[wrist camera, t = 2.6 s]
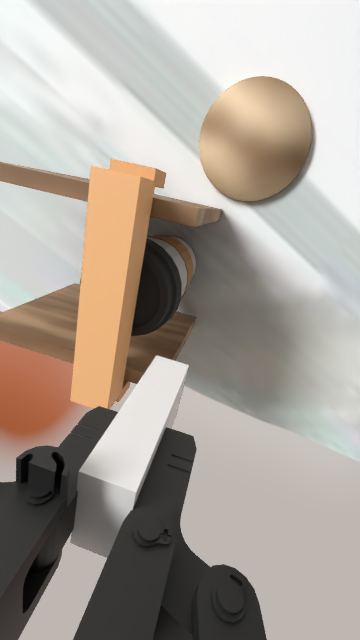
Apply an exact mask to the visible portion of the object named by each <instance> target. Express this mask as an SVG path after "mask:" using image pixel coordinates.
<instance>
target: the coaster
mask: <svg viewBox="0 0 360 640" xmlns="http://www.w3.org/2000/svg"><path fill="white" fill-rule="evenodd" d="M311 138H312V125H311V118H310V114H309V111H308V108H307V106H306V103H305V102H304V100H303V98H302V97H301V96H300V94H299V93H298V92H297V91H296V90H295V89H294V88H293V87H292V86H290V85H289V84H287V83H286V82H284V81H282V80H279V79H277V78H272V77H265V76H260V77H252V78H248V79H245V80H242V81H240V82H238V83H236V84H234V85H232V86H231V87H229V88H228V89H227V90H225V91H224V92H223V93H222V94H221V95H220V96H219V97H218V98H217V100H216V101H215V102H214V103H213V105H212V106H211V108H210V109H209V111H208V113H207V115H206V117H205V120H204V122H203V125H202V129H201V133H200V140H199V152H200V159H201V163H202V166H203V169H204V172H205V174H206V176H207V177H208V179H209V180H210V182H211V183H212V184H213V185H214V187H215V188H216V189H218V190H219V191H220V192H221V193H223V194H224V195H226V196H228V197H230V198H233V199H236V200H241V201H257V200H262V199H266V198H268V197H270V196H273V195H274V194H276V193H278V192H280V191H281V190H282V189H284V188H285V187H286V186H287V185H288V184H289V183H290V182H292V180H293V179H294V178H295V177H296V176H297V174H298V173H299V171H300V170H301V168H302V166H303V164H304V163H305V161H306V158H307V155H308V153H309V149H310V145H311Z"/></svg>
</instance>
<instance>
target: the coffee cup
mask: <svg viewBox="0 0 360 640" xmlns="http://www.w3.org/2000/svg"><path fill="white" fill-rule="evenodd" d="M195 270H196V259H195V254H194V252H193V250H192V248H191V247H190V246H189V245H188V244H187V243H186V242H185V241H183V240H182V239H180V238H177V237H174V236H147V239H146V245H145V251H144V257H143V263H142V269H141V276H140V282H139V288H138V294H137V300H136V307H135V313H134V319H133V325H132V331H131V336H139V335H146V334H149V333H151V332H153V331H156V330H158V329H159V328H160V327H161V326H163V325H164V324H165V323H167V322H168V321H169V320H170V319H171V318H172V317H173V315H174V313H175V312H176V310H177V309H178V306H179V303H180V300H181V298H182V297H183V295H184V294H185V292H186V290H187V288H188V286H189V284H190V283H191V280H192V278H193V276H194V273H195ZM80 285H81V280H80Z"/></svg>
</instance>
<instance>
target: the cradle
mask: <svg viewBox="0 0 360 640" xmlns="http://www.w3.org/2000/svg"><path fill="white" fill-rule="evenodd" d="M0 181H3V182H7V183H11V184H15V185H19V186H24V187H28V188H32V189H36V190H41V191H45V192H49V193H53V194H57V195H62V196H66V197H70V198H74V199H78V200H83V201H87V202H88V193H89V182H90V180H89V179H85V178H80V177H75V176H70V175H65V174H60V173H55V172H49V171H44V170H39V169H34V168H29V167H24V166H19V165H14V164H8V163H3V162H0ZM221 212H222V209H217V208H213V207H209V206H204V205H200V204H195V203H191V202H187V201H182V200H178V199H173V198H169V197H164V196H160V195H156V194H154V195H153V201H152V208H151V214H150V217H154V218H158V219H163V220H167V221H171V222H175V223H179V224H184V225H188V226H192V227H197V226H201V225H205V224H208V223H212V222H216V221H219V220H220V216H221ZM79 297H80V285H78V284H72V285H70V286H67V287H65V288H62V289H60V290H57V291H55V292H52V293H50V294H47V295H45V296H43V297H40V298H38V299H35V300H33V301H30V302H28V303H25V304H23V305H20V306H18V307H15V308H13V309H10V310H8V311H5V312H3V313H0V340H1V341H4V342H7V343H10V344H13V345H17V346H20V347H23V348H26V349H29V350H32V351H35V352H38V353H41V354H45V355H48V356H51V357H54V358H57V359H60V360H63V361H67V362H70V363H73V364H74V355H75V343H76V332H77V320H78V309H79ZM195 318H196V317H193V316H189V315H186V314H182V313H179V312H175V313H174V315H173V317H172V318H171V319H170V320H169V321H168V322H167V323H165V324H164V325H163V326H161V327H160V328H159V329H158V330H156V331H153V332H151V333H149V334H146V335H139V336H131V338H130V344H129V350H128V356H127V362H126V369H125V375H124V380H126V381H129V382H132V383H136V384H138V382H139V381H140V379H141V378H142V376H143V375H144V373H145V372H146V370H147V369H148V367H149V366H150V364H151V363H152V361H153V360H154V358H155V357H156V355H157V356H160V357H164V358H167V359H170V360H174V361H175V360H176V358H177V356H178V354H179V352H180V351H181V349H182V347H183V345H184V343H185V341H186V339H187V337H188V336H189V334H190V332H191V330H192V328H193V326H194V322H195Z"/></svg>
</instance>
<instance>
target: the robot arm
mask: <svg viewBox="0 0 360 640" xmlns="http://www.w3.org/2000/svg"><path fill="white" fill-rule="evenodd" d="M188 367H189V365H187V364H184V363H180V362H177V361H174V360H170V359H167V358H164V357H160V356H157V355H156V357H155V358H154V360H153V361H152V363H151V364H150V366H149V367H148V369H147V370H146V372H145V373H144V375H143V376H142V378H141V379H140V381H139V382H138V384H137V385H136V387H135V388H134V390H133V391H132V393H131V394H130V396H129V397H128V399H127V400H126V402H125V403H124V405H123V406H122V407H121V409H120V410H119V412H116V411H113V410H110V409H107V408H104V407H101V406H98V407H96V408H95V409H93V410H91V411H89V412H87V413H86V414H85V416H84V417H83V418H82V419H81V420H80V421H79V423H78V425H76V426H75V428H74V429H73V430H72V431H71V433H70V434H69V435H68V436H67V437H66V438H65V440H64V441H63V442H62V443H61V444H60V446H59V447H53V446H39V447H35V448H32V449H29V450H27V451H25V452H24V453H22V454H21V455H20V456H19V457H17V459H16V481H15V482H4V483H3V482H0V640H18V639H19V637H20V635H21V633H22V631H23V629H24V628H25V626H26V624H27V622H28V620H29V618H30V617H31V615H32V613H33V611H34V609H35V607H36V606H37V604H38V602H39V600H40V598H41V596H42V595H43V593H44V591H45V589H46V587H47V585H48V583H49V582H50V580H51V578H52V576H53V574H54V573H55V571H56V569H57V567H58V565H59V562H60V559H61V555H62V548H63V546H64V545H65V543H66V541H67V539H68V538H69V536H70V534H71V532H72V534H71V543H72V544H74V545H77V546H79V547H82V548H85V549H87V550H89V551H92V552H94V553H97V554H99V555H102V556H104V557H107V561H106V563H105V565H104V568H103V570H102V572H101V575H100V577H99V580H98V582H97V584H96V587H95V589H94V592H93V594H92V596H91V599H90V601H89V603H88V606H87V608H86V610H85V613H84V615H83V617H82V620H81V622H80V625H79V627H78V629H77V632H76V634H75V637H74V639H73V640H267V639H266V634H265V630H264V625H263V620H262V615H261V610H260V605H259V602H258V599H257V596H256V593H255V590H254V588H253V587H252V585H251V584H250V582H249V581H248V580H247V578H246V577H245V576H244V575H243V574H242V573H240V572H239V571H238V570H236V569H235V568H233V567H230V566H227V565H224V564H223V565H215V566H212V567H210V566H208V565H207V564H206V563H205V562H204V561H202V560H201V559H200V558H199V557H198V556H196V555H195V554H194V553H193V552H192V551H191V550H190V549H189V547H188V546H187V544H186V543H185V541H184V538H183V536H182V533H181V528H180V517H181V512H182V508H183V504H184V500H185V496H186V491H187V487H188V483H189V479H190V474H191V470H192V466H193V462H194V457H195V453H196V446H195V441H194V437H193V436H191V435H188V434H185V433H182V432H179V431H176V430H173V429H171V428H172V425H173V423H174V420H175V418H176V415H177V411H178V406H179V403H180V399H181V395H182V391H183V387H184V383H185V379H186V375H187V371H188Z"/></svg>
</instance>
